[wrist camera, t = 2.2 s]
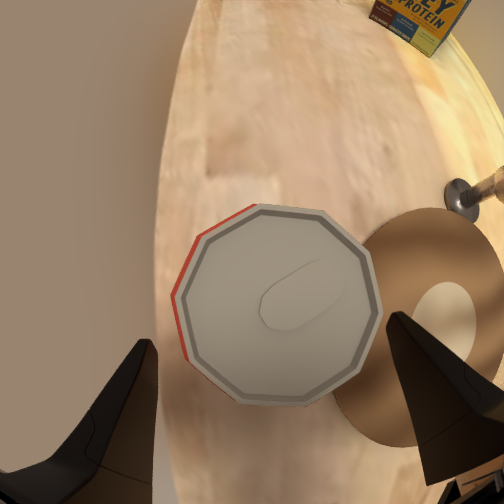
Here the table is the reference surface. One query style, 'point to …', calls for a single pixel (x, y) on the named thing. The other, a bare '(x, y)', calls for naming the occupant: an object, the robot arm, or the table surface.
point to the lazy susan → (427, 312)
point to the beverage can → (277, 305)
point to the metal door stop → (473, 194)
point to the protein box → (420, 20)
